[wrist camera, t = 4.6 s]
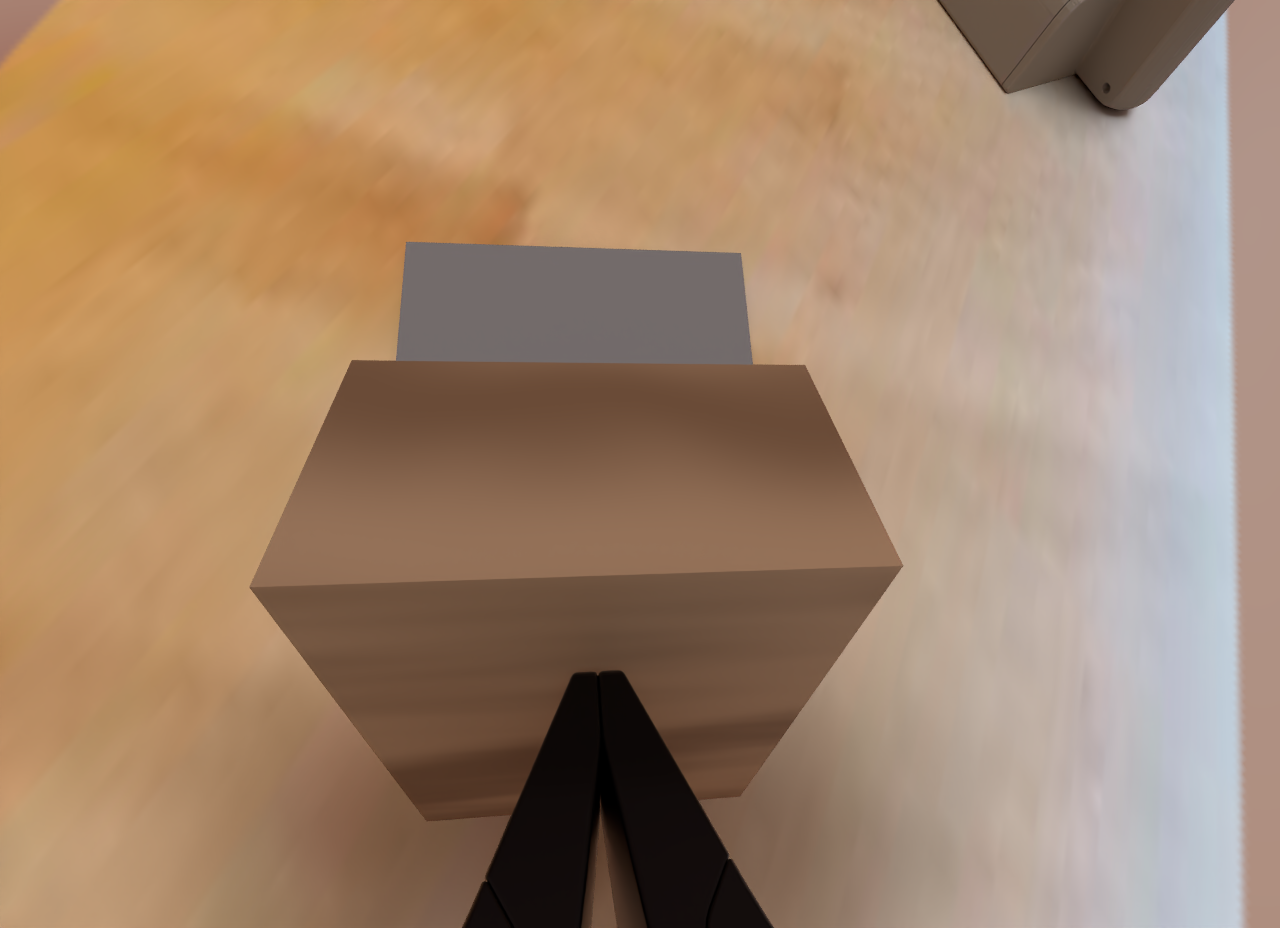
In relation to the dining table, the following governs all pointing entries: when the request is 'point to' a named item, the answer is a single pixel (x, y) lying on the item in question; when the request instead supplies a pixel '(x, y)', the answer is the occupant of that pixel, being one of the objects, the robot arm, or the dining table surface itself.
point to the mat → (571, 305)
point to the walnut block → (571, 561)
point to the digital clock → (1086, 41)
